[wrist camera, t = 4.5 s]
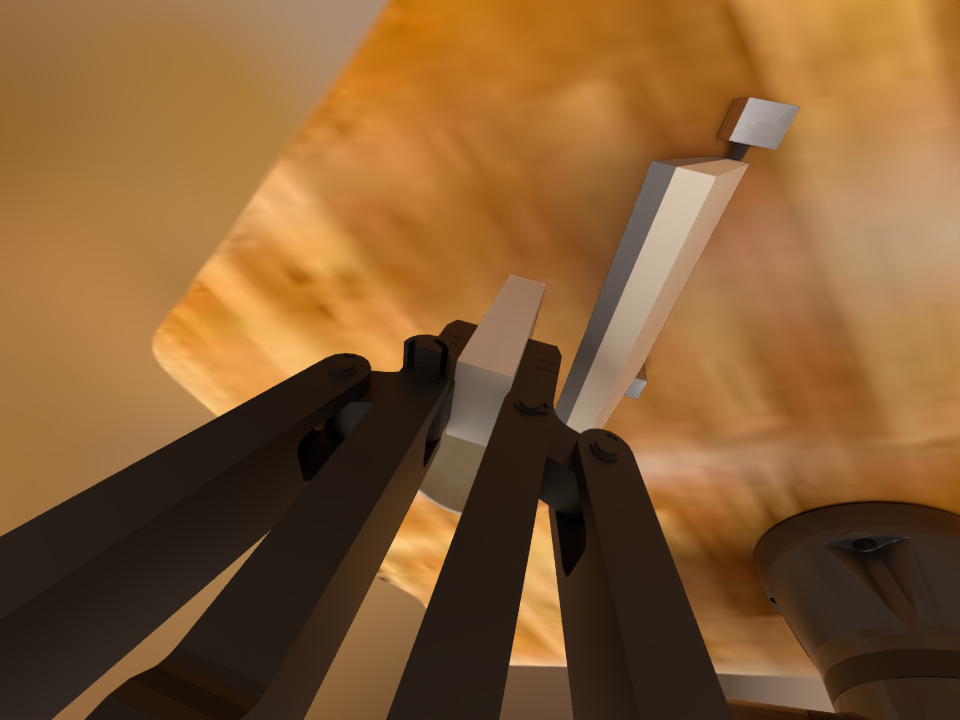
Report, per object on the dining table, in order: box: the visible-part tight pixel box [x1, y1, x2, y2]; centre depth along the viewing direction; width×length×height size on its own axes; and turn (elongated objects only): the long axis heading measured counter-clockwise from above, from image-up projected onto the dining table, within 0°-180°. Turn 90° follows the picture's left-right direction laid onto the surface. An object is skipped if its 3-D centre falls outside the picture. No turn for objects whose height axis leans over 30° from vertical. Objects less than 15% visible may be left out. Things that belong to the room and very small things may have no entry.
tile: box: [555, 156, 749, 433], centre depth 17 cm, size 12×12×2 cm
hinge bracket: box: [624, 97, 800, 399], centre depth 21 cm, size 2×17×2 cm, turn 170°
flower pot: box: [418, 424, 486, 515], centre depth 30 cm, size 10×10×7 cm
